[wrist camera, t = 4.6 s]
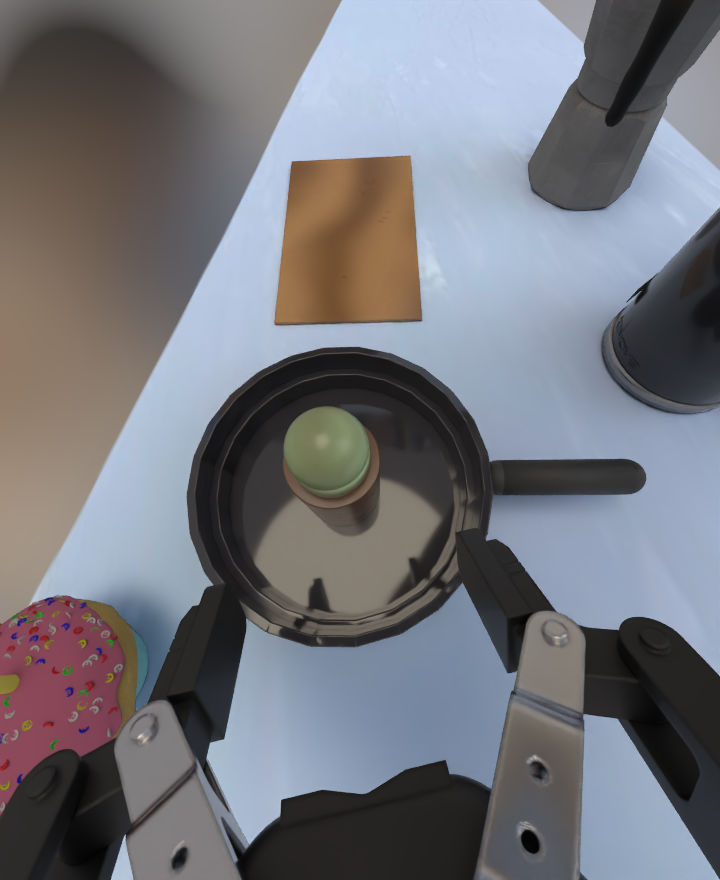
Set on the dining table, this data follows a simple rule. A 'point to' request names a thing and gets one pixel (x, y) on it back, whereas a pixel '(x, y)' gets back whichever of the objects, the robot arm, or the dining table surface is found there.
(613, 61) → the coffeepot
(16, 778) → the cupcake
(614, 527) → the dining table surface
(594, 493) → the pan handle
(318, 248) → the placemat
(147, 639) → the dining table surface
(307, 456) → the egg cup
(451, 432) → the pan
